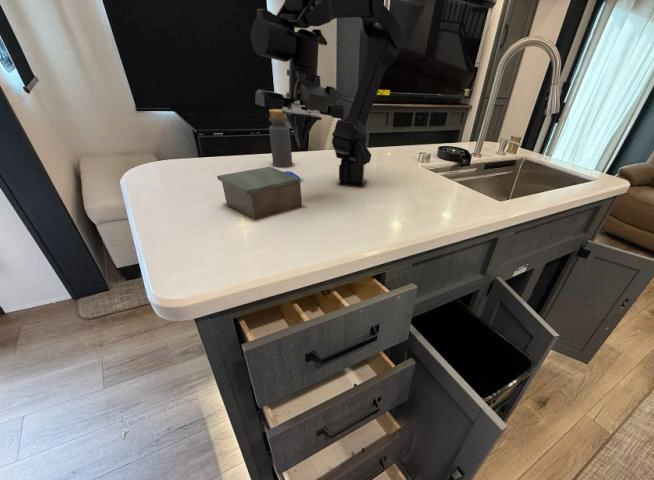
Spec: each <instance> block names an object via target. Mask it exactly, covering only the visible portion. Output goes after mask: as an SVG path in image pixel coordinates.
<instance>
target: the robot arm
mask: <svg viewBox="0 0 654 480" xmlns="http://www.w3.org/2000/svg"><path fill="white" fill-rule="evenodd" d="M346 18H360V19H361V23H362V25H361V26H362V31H363V33H364V34H365V36H366V38H367V41H366V45H365V46H366V53H367V54H366V55H367V61H366V64H365V66H364V70H363V71H362V72H363V73H362V75H361V78H360V81H359V83H358V85H357V89H356V92H355V95H354V98H353V101H352V103H351V106H350V109H349V112H348V115H347V117H346V118H345V109H344V106H343V105H342V104H339V103H337V101H338V89H337V88H336V87H334V86H330V85H327V86H325V87H323V86H321V76H320V75H318V63H319V46H327V45H328V40H327V39H326V38H325V36H324V35H323V33H322V30H321V29H318V28H313V29H312V30H308V28H310V27H321V26H324V25H326V24H329V23H331V22H332V21H333V20H335V19H346ZM373 19H374V20H375V21H376V23H375V22H374V20H373ZM295 29H298V30H297V31H296V30H295ZM404 38H405V37H404V32H403V30H402V28H401V25H400V23H399V21H398V20H397V18H396V16H395V15H394V14H393V13H392V12H391V11H390V10H389V8H387V6H385V4H384V2H383V0H284V2H283V3H282V5H281V7H280V8H279V10H278V12H277V13H276V14H274V13H273V12H271V11H269V10H268V9H265V8H257V10H256V17H255V19H254V21H253V23H252V25H251V30H250V42H251V45H252V46H251V47H252V49H253V51H254V53H256V55H258V56H260V57H265V58H268V59H272V60H276V61H279V62H283V63H287V62H288V63H289V65H288V66H289V67H288V69H286V76H288V92H286V97H284V94H283V93H279V92H275V91H269V90H264V89H257V90H256V92H255V95H254V96H255V97H254V99H255V100H254V101H255V105H257V106H261V107H263V108H267V109H280V110H282V113H284V114H286V118H287V121H288V122H289V125H290V127H291V129H292V133H293V134H294V138H295V141H296V144H297V148H299V149H304V147H305V146H306V142H307V140H308V138H309V135H310V132H311V130H312V128H313V126H314V125H315V124H316V123H317V122H318V121H321V120H322V119H323V118H322V117H321V116H320V115H324V116H330V117H331V118H333V119H337V120H336V123H335V127H334V130H333V132H332V134H331V136H332V140H331V144H332V147H333V149H334V153H335V156H336V157H335V158H336V159H340V164H339V166H338V180H339V185H343V186H351V187H359V188H361V187H363V186H364V183H365V181H366V179H365V166H366V165H367V164H369V163H370V162H371V158H372V154H371V152H370V150H369V149H368V147H367V146H366V142H367V138H368V137H367V128H366V125H367V122H368V119H369V116H370V115H371V111H372V108H373V106H374V103H375V100H376V97H377V95H378V91H379V89H380V87H381V84H382V80H383V78H384V75H385V72H386V70H387V69H388V68H389V67H390V66H391V65H392V64H393V63H394V62H395V61H396V60H397V58H398V56H399V54H400V52H401V50H402V48H403V45H404V41H405V39H404ZM298 102H299V103H298ZM344 118H345V119H344Z"/></svg>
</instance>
